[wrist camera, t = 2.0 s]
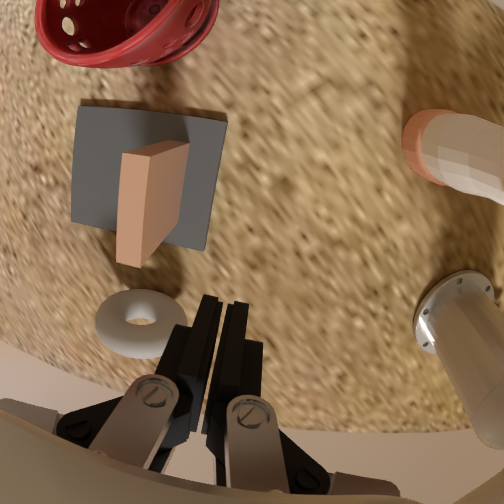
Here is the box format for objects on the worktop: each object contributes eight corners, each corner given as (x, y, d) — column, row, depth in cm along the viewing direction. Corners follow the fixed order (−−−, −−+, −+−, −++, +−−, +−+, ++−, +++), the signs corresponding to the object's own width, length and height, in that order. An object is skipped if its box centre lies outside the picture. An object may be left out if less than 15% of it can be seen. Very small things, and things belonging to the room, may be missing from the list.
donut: (197, 293, 35) (174, 352, 26) (195, 317, 36) (173, 377, 27) (117, 275, 35) (76, 324, 26) (118, 299, 36) (81, 350, 27)
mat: (228, 121, 27) (226, 122, 27) (205, 248, 33) (203, 251, 32) (82, 106, 27) (78, 106, 26) (74, 219, 32) (71, 221, 32)
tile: (189, 142, 28) (150, 156, 18) (178, 222, 31) (140, 268, 22) (168, 139, 27) (120, 152, 18) (158, 218, 31) (114, 261, 22)
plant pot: (117, -27, 20) (57, -67, 9) (238, -33, 20) (218, -98, 10) (93, 79, 26) (15, 74, 15) (214, 82, 26) (176, 62, 15)
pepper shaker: (389, 126, 26) (529, 155, 9) (443, 98, 24) (591, 108, 7) (418, 190, 28) (544, 281, 11) (469, 161, 26) (604, 221, 9)
